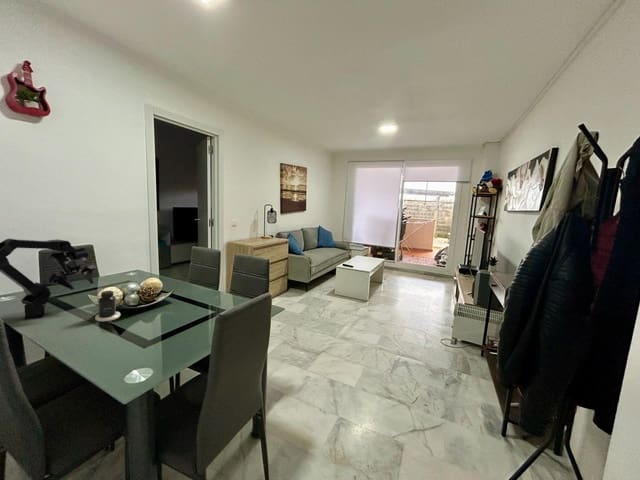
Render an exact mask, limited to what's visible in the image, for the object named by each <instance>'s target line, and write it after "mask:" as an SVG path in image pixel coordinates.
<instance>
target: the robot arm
mask: <svg viewBox="0 0 640 480" xmlns="http://www.w3.org/2000/svg"><path fill="white" fill-rule="evenodd" d="M16 249H36V250H37V249H41V250H42V249H43V250H52V251H58V252H50V254H49V257H48V258H47V260H53V259H54V261H55V262H56V263H57V265H58V266H59V268H58V269H59V270H60V271H55V272H53V273H52V274H51V275H50V276H49V277H48V281H49V283H50V284H55V285H61V286H63V287H65V288H68V289H69V290H74V289H75V288H74V285H73V284H72V283H71V282H70V281H69V279H68V277H71V276H75V275H80V274H82V276H83V277H84V279H85V280H86V281H88V282H89V283H90V284H91V285H93V284H94V278H93V272H94V271H95V270H96V269H97V267H96V265H95V264H88V265H86V263H88V259H89V253H88V251H87V250H86V249H85V247H82V246H81V247H78V248H75V247H74V246H72V245H71V242H70V241H68V240H63V239H49V240H34V239H33V240H31V239H15V238H5V239H4V240H2V241H1V242H0V273H1V274H3V276H6V277H7V278H8V279H10V281H12V282H13V283H15V285H17V286H19V287H20V288H21V289H22V290H23V292H24V294H25V296H23V297H22V299H21V300H20V302H21V304H22V305H24V307H23V308H24V317H23V318H22V319H23V320H29V319H30V320H31V319H39V318H40V319H41V318H43V317H45V315H46V314H47V312H48V311H47V310H48V309H47V308H48V307H47V302H48V301H49V298H50V297H51V295H52V292H51V288H48V287H47V286H46V285H45V284H44V283H40V282H34V281H32V280H31V279H29V278H28V277H27V276H26V275H24V273H22V272H21V271H19V270H18V269H17V268H16V267H15V266H13V265H12V264H11V263H10V261H9V259H8V258H7V257H8V256H10V255H11V254H12V253H13V252H14V250H16ZM82 266H84V268H82ZM81 268H82V269H81ZM61 270H62V271H61Z"/></svg>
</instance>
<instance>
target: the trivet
mask: <svg viewBox="0 0 640 480" xmlns="http://www.w3.org/2000/svg"><path fill="white" fill-rule="evenodd" d="M120 317H121V312H120V311H116V313H115V315H113V316H110V317H99V313H98V314H96V315H95V321H96V322H110V321H113V320H117V319H119V318H120Z"/></svg>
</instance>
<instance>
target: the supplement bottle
mask: <svg viewBox="0 0 640 480" xmlns="http://www.w3.org/2000/svg"><path fill="white" fill-rule="evenodd" d="M116 300H117V299H116V296H114V291H113V290H105V291H102V292H101V293H100V298H99V299H98V314H99V317H110V316H113V315H115V313H116V312H117V311H116V309H117V308H116V305H117V303H116Z"/></svg>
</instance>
